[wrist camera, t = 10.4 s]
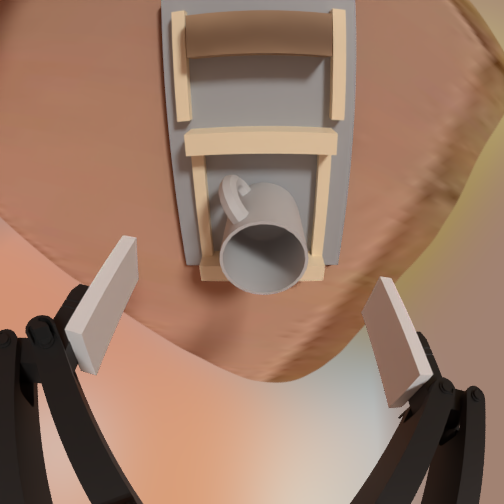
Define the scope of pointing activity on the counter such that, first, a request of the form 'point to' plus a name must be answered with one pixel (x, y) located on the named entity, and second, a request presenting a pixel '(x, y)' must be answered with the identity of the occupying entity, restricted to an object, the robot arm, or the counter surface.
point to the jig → (260, 129)
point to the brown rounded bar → (259, 34)
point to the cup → (261, 237)
